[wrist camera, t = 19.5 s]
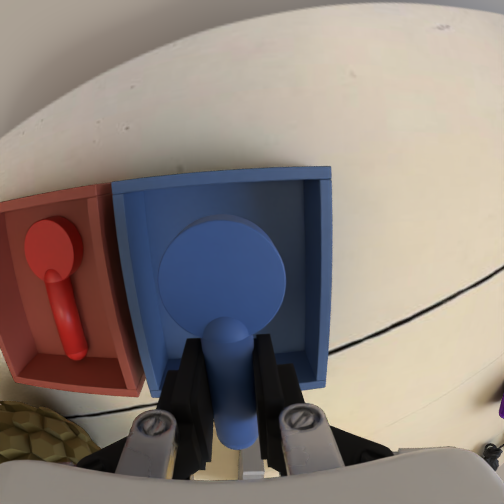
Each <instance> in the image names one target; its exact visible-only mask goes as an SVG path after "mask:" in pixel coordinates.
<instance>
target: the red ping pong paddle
mask: <svg viewBox="0 0 504 504" xmlns="http://www.w3.org/2000/svg"><path fill="white" fill-rule="evenodd" d="M24 251H25V257H26V260H27V263H28V265H29V267H30V268H31V270H32V271H33V273H34V274H35V275H36V276H37V277H38V278H40V279H41V280H43V281H44V282H45V286H46V291H47V295H48V298H49V302H50V306H51V310H52V313H53V317H54V320H55V324H56V327H57V330H58V333H59V337H60V340H61V343H62V346H63V349H64V351H65V354H66V355H67V356H68V357H69V358H70V359H72V360H81V359H83V358H84V357H85V356H86V355H87V352H88V345H87V342H86V338H85V335H84V331H83V328H82V324H81V321H80V317H79V313H78V309H77V305H76V301H75V297H74V293H73V289H72V284H71V279H70V275H72V274H73V273H75V272H76V271H77V269H78V268H79V266H80V264H81V262H82V258H83V243H82V239H81V236H80V234H79V232H78V230H77V229H76V227H75V226H74V225H73V224H72V223H71V222H70V221H69V220H67V219H65V218H63V217H60V216H52V217H48V218H45V219H42V220H39V221H37V222H35V223H34V224H33V225H32V226H31V227H30V228H29V230H28V232H27V234H26V237H25V242H24Z"/></svg>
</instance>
